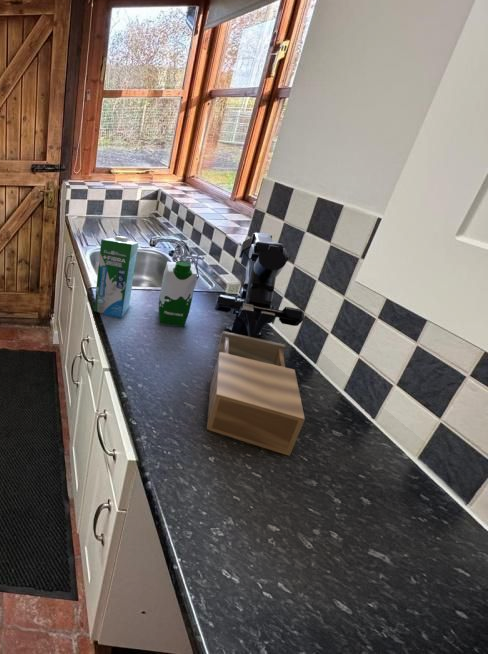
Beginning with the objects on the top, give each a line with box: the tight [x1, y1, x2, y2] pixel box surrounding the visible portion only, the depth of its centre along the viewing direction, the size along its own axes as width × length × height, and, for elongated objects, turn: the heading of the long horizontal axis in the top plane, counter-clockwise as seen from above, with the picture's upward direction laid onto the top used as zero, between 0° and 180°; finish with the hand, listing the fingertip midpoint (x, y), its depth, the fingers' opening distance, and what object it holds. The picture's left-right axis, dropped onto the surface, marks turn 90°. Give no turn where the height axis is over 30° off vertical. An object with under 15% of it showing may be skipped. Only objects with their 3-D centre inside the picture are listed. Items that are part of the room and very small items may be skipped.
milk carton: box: [93, 235, 139, 319], centre depth 128 cm, size 9×9×25 cm
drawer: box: [215, 330, 286, 368], centre depth 97 cm, size 17×13×8 cm
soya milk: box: [158, 260, 198, 328], centre depth 122 cm, size 9×9×20 cm
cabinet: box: [206, 352, 306, 457], centre depth 87 cm, size 17×15×10 cm
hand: (251, 341), depth 102 cm, fingers closed
